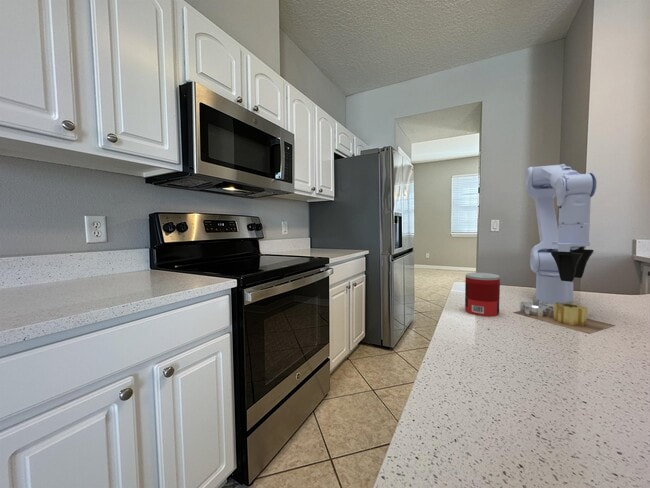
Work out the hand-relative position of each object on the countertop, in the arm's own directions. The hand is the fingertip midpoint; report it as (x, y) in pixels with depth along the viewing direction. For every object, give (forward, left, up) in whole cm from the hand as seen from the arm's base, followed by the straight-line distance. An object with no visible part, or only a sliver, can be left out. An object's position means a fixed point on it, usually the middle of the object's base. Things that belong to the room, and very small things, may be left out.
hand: (571, 279), depth 69 cm
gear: (+5, -5, -9) cm, 12 cm away
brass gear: (+5, +2, -9) cm, 11 cm away
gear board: (+4, 0, -10) cm, 11 cm away
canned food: (+16, -12, -11) cm, 23 cm away
